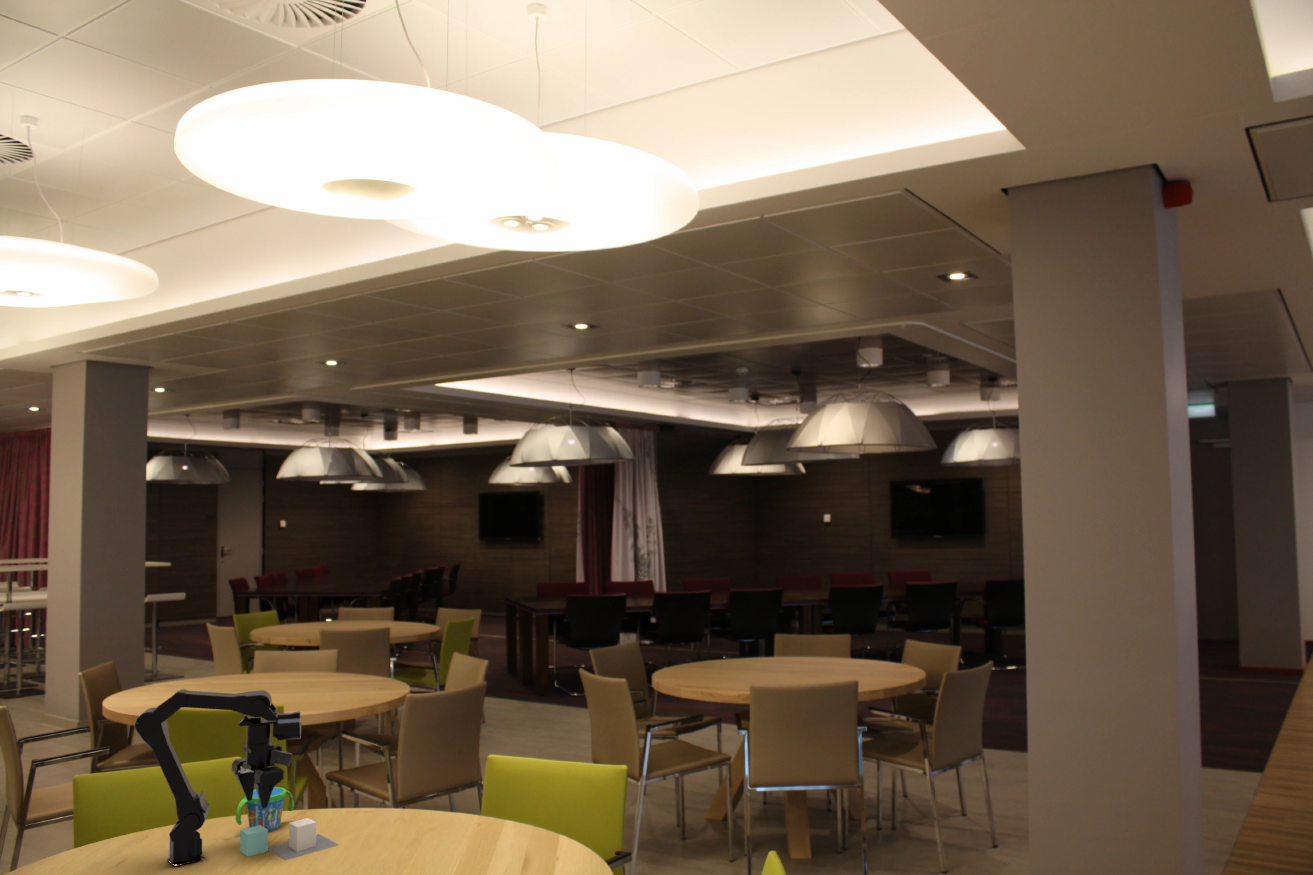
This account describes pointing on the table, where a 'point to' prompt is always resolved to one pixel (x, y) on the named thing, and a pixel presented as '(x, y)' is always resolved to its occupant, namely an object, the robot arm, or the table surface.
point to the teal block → (253, 840)
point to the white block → (302, 834)
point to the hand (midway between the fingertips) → (256, 803)
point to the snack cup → (265, 809)
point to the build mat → (289, 853)
